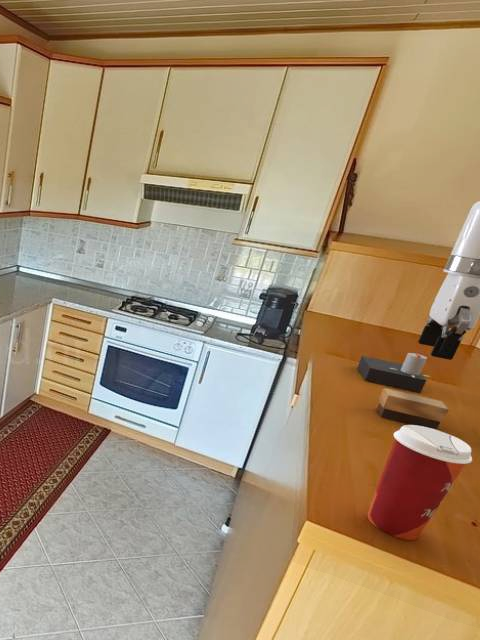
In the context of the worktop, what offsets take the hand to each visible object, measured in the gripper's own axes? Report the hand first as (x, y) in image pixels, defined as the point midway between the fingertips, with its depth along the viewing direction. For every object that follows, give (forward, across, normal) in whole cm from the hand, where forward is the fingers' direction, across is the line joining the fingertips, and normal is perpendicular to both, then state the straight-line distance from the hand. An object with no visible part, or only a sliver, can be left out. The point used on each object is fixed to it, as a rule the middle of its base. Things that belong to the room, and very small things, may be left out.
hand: (433, 351), depth 99 cm
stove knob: (+11, +22, -4) cm, 25 cm away
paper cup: (+15, -51, +11) cm, 54 cm away
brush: (+14, -4, +1) cm, 15 cm away
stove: (+14, +24, -1) cm, 28 cm away
